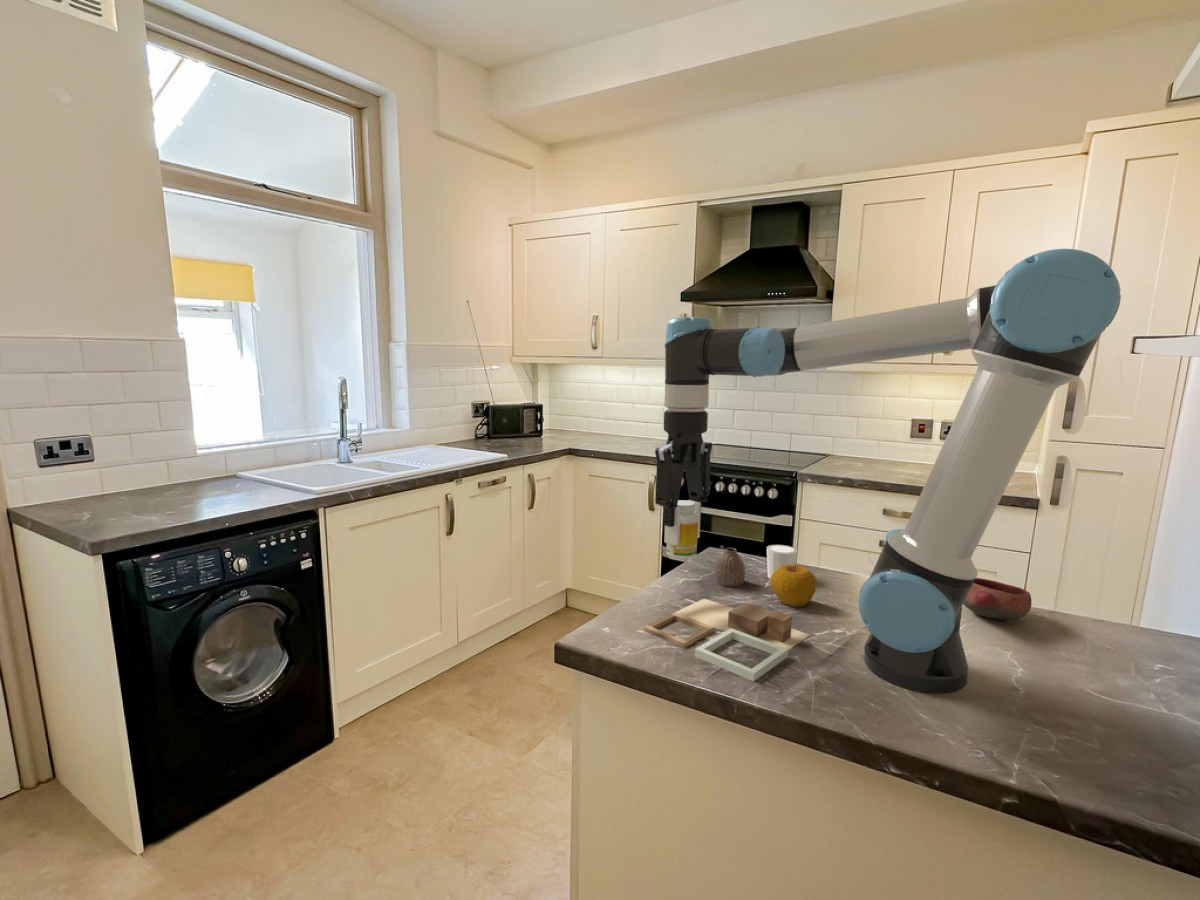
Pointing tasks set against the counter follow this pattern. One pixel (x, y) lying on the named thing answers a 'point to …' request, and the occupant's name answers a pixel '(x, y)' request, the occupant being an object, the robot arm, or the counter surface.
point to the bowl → (997, 600)
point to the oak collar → (672, 639)
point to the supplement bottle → (685, 532)
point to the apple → (793, 585)
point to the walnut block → (749, 619)
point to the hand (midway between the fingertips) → (682, 539)
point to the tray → (741, 670)
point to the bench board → (718, 618)
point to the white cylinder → (779, 557)
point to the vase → (730, 569)
